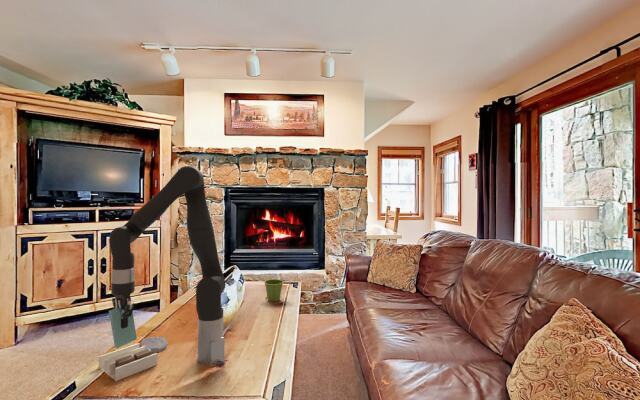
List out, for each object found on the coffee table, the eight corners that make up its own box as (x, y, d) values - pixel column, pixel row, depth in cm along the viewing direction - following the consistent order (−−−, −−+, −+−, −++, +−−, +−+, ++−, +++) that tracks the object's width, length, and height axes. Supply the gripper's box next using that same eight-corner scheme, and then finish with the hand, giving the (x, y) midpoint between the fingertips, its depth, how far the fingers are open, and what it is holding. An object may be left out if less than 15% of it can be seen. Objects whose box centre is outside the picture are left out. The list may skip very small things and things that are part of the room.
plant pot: (260, 301, 204) (260, 283, 203) (269, 296, 215) (269, 278, 215) (278, 304, 200) (279, 284, 200) (286, 298, 212) (286, 280, 211)
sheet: (136, 339, 129) (131, 304, 127) (117, 348, 124) (111, 312, 122) (134, 337, 131) (128, 303, 129) (114, 346, 125) (108, 310, 123)
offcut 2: (151, 364, 125) (151, 351, 125) (137, 370, 121) (137, 356, 120) (147, 362, 126) (147, 348, 126) (133, 367, 122) (133, 353, 122)
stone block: (165, 347, 147) (140, 346, 143) (168, 336, 147) (142, 335, 143) (165, 360, 136) (137, 360, 132) (168, 348, 136) (140, 347, 132)
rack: (157, 368, 125) (157, 353, 125) (116, 385, 114) (116, 368, 114) (138, 356, 134) (138, 343, 133) (98, 371, 122) (98, 356, 122)
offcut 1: (134, 371, 120) (134, 357, 120) (119, 377, 116) (119, 362, 116) (130, 368, 122) (130, 354, 121) (115, 374, 118) (115, 360, 117)
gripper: (142, 281, 125) (142, 328, 125) (125, 275, 133) (125, 319, 133) (120, 285, 119) (120, 335, 119) (104, 279, 127) (103, 325, 127)
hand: (122, 326), depth 126 cm, fingers closed on sheet, 2 cm apart
